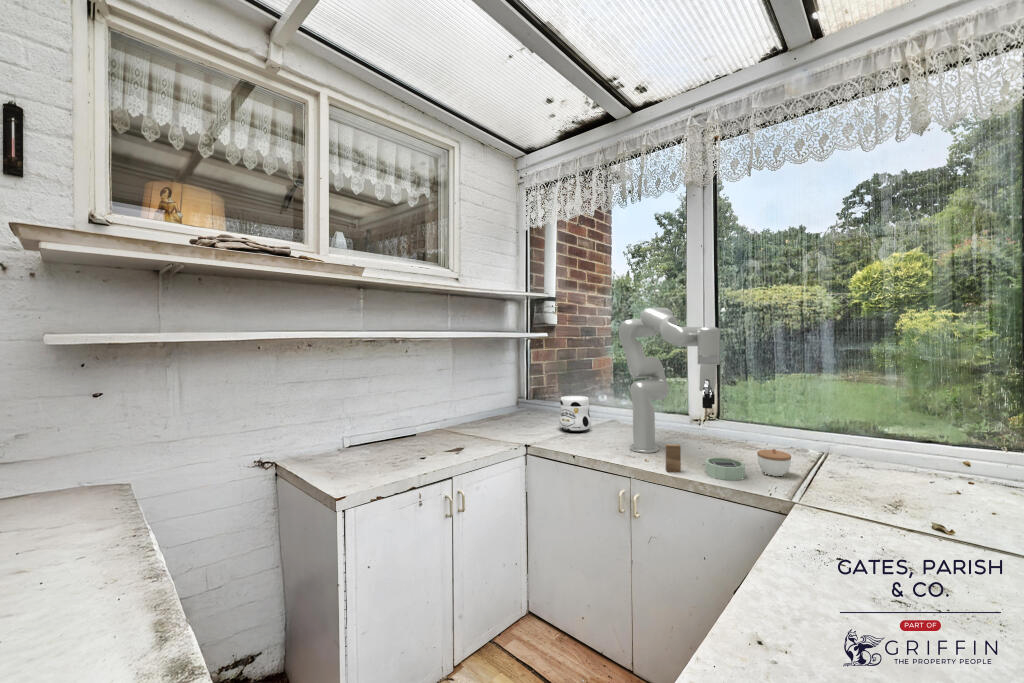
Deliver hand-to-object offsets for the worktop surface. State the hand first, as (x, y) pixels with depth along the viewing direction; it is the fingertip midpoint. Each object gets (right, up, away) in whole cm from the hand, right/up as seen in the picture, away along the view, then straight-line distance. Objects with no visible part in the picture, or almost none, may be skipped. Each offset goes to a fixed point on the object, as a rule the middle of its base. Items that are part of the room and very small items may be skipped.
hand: (708, 406), depth 159 cm
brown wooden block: (-12, -26, +5) cm, 29 cm away
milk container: (-39, -25, +75) cm, 88 cm away
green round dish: (+6, -26, 0) cm, 26 cm away
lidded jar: (+24, -26, 0) cm, 35 cm away
